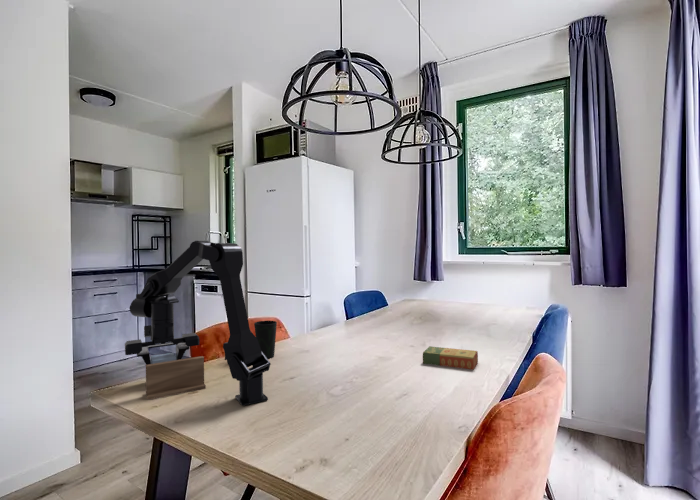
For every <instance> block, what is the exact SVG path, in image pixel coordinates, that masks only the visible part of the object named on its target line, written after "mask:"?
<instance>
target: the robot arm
mask: <svg viewBox="0 0 700 500" xmlns="http://www.w3.org/2000/svg"><path fill="white" fill-rule="evenodd" d="M243 255H244V253H243V248H242V247H241V245H238V244H237V243H233V242H230V243H229V242H227V243H226V242H212V241H208V240H194V241H192V242H190V244H189V247H187V248H186V249H185V251H183V252H182V253H181V254H180V255H179V256H178V257H177V258H176V259H175V260H174V261H173V262H171V264H170V265H169V266H168V267H166V268H165V269H162V270H160V271H156V272H155V273H153V274H152V275H150V276H149V277H148V278H147V280H146V283H145V285H144V287H143V289H142V291H141V292H140V293H136V294H135V298H134V299H133V300H132V301H131V303H130V305H129V312H130V313H131V315H132V316H134V317H137V318H139V317H140V318H148V319H149V318H150V319H151V322H150V323H151V325H150V324H149V325H144V326H143V336H144V338H150V340H151V341H150V340H149V341H143V342H142V339H141V338H139V339H131V340H126V342H125V343H124V355H125V356H131V355H136V357H139V358H140V357H141V358H142V359H143V362H144V363H145V366H146V365H148V364H151V355H150V352H149V349H155V348H156V349H157V348H163V347H169V346H175V356H176V360H180V359H183V357H184V355H185V353H186V352H187V351H188V350H190V347H193V346H194V347H195V346H200V341H201V340H200V336H199V335H198V334H197V333H195V332H189V333H183V334H182V335H181V337H175V322H174V321H175V314H174V312H175V311H174V304H177V303H179V302H180V301H179V300H180V299H178V298H177V297H175V295H174V293H176V291H177V290H178V289H179V288H180V286H181V285H182V279H183V278H184V277H185V276H186V275H188V274H189V273H190V272H191V271H192V270H193V269H194V268H196V266H197V265H199V263H201V262H202V261H203V260H206V261H208V262H209V264H210V265H209V266H210V268H211V270H212V271H213V273H214V274H215V275H216V276H217V277H218V280H219V281H220V286H221V287H220V288H221V292H222V297H223V303H224V308H225V309H224V311H225V314H226V321H227V324H228V331H229V337H228V340H227V342H223V344H222V349H223V352H224V360H225V361H226V363H227V365H228V369H229V370H230V375H231V378H232V379H234V380H236V381H237V382H239V388H238V389H239V394H236V395H235V396H234V398H235V399H236V400H237V402H238V403H239V404H240V405H241V406H242V407H243V406H244V407H245V406H247V405H252V404H257V403H261V402H265V401H268V400H269V397H268V396H267V395H266V394H265V393H264V374H263V373H265V372H268V371H269V370H270V367H271V365H272V364H271V361H269V359H267V358H266V356H265V355H264V354H263V352H262V351H261V348H260V345H259V342H258V339H257V338H256V336H255V334H254V333H253V332H252V330H251V328H250V323H249V318H248V317H249V316H248V312H247V306H246V303H245V297H244V291H243V286H242V280H241V272H242V270H243V266H244V257H243Z"/></svg>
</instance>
